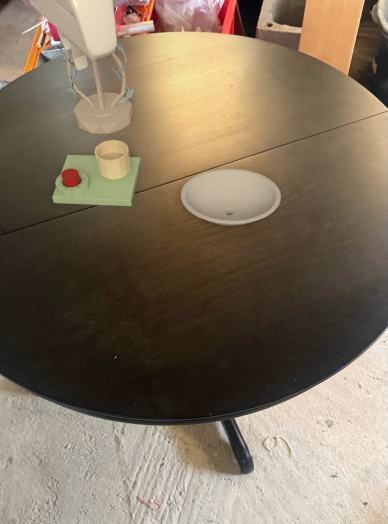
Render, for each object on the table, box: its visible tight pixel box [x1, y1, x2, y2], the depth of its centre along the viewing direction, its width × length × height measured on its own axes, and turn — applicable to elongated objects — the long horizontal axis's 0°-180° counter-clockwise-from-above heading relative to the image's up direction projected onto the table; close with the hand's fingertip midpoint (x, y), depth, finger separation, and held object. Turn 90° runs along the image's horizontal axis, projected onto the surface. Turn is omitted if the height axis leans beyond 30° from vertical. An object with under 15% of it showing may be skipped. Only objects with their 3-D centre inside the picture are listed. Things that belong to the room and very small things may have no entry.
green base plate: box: [51, 154, 142, 207], centre depth 92 cm, size 15×13×3 cm
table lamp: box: [20, 0, 135, 135], centre depth 89 cm, size 22×22×40 cm
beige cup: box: [93, 139, 131, 180], centre depth 91 cm, size 6×6×4 cm
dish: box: [180, 168, 282, 227], centre depth 85 cm, size 18×14×5 cm
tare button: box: [60, 168, 81, 187], centre depth 89 cm, size 3×3×2 cm
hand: (78, 64), depth 66 cm, fingers closed
